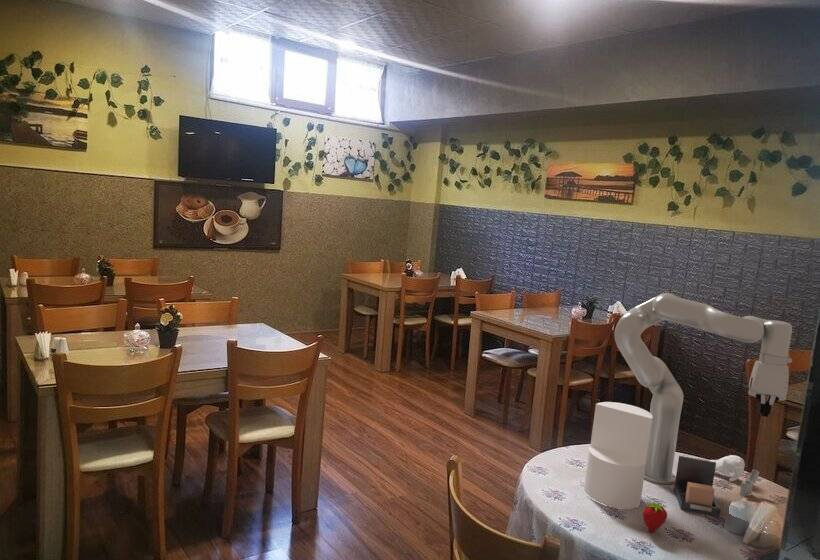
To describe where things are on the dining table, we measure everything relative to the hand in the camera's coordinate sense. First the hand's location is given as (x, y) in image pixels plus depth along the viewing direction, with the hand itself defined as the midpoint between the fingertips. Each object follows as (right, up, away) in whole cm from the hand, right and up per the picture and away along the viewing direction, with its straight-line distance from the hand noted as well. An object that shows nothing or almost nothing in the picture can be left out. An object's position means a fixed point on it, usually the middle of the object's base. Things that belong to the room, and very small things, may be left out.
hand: (763, 415), depth 195 cm
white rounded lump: (-2, -27, +22) cm, 35 cm away
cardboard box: (-23, -27, -5) cm, 36 cm away
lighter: (0, -29, +9) cm, 30 cm away
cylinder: (-49, -25, -2) cm, 56 cm away
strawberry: (-45, -28, -22) cm, 58 cm away
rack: (-23, -28, -2) cm, 36 cm away
